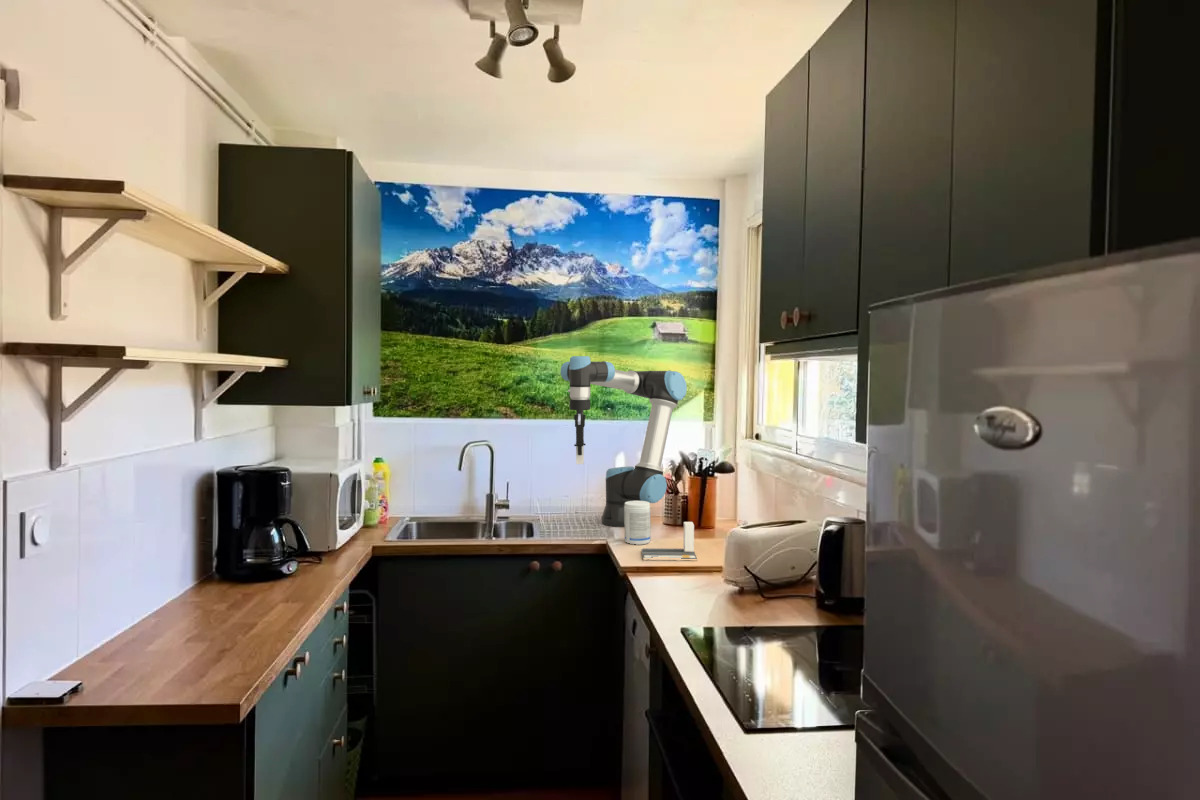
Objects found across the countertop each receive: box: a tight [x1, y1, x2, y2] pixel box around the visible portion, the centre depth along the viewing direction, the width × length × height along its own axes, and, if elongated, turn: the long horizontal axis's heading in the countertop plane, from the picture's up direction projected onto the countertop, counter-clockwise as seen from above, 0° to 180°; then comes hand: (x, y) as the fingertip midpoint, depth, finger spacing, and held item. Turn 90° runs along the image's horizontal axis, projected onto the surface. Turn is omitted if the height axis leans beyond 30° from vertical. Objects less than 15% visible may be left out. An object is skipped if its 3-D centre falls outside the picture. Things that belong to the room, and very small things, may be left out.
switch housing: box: [641, 547, 698, 560], centre depth 249 cm, size 12×18×2 cm, turn 89°
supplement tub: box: [624, 500, 652, 546], centre depth 268 cm, size 10×10×15 cm
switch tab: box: [683, 521, 695, 552], centre depth 249 cm, size 5×3×10 cm, turn 179°
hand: (579, 463), depth 264 cm, fingers closed
